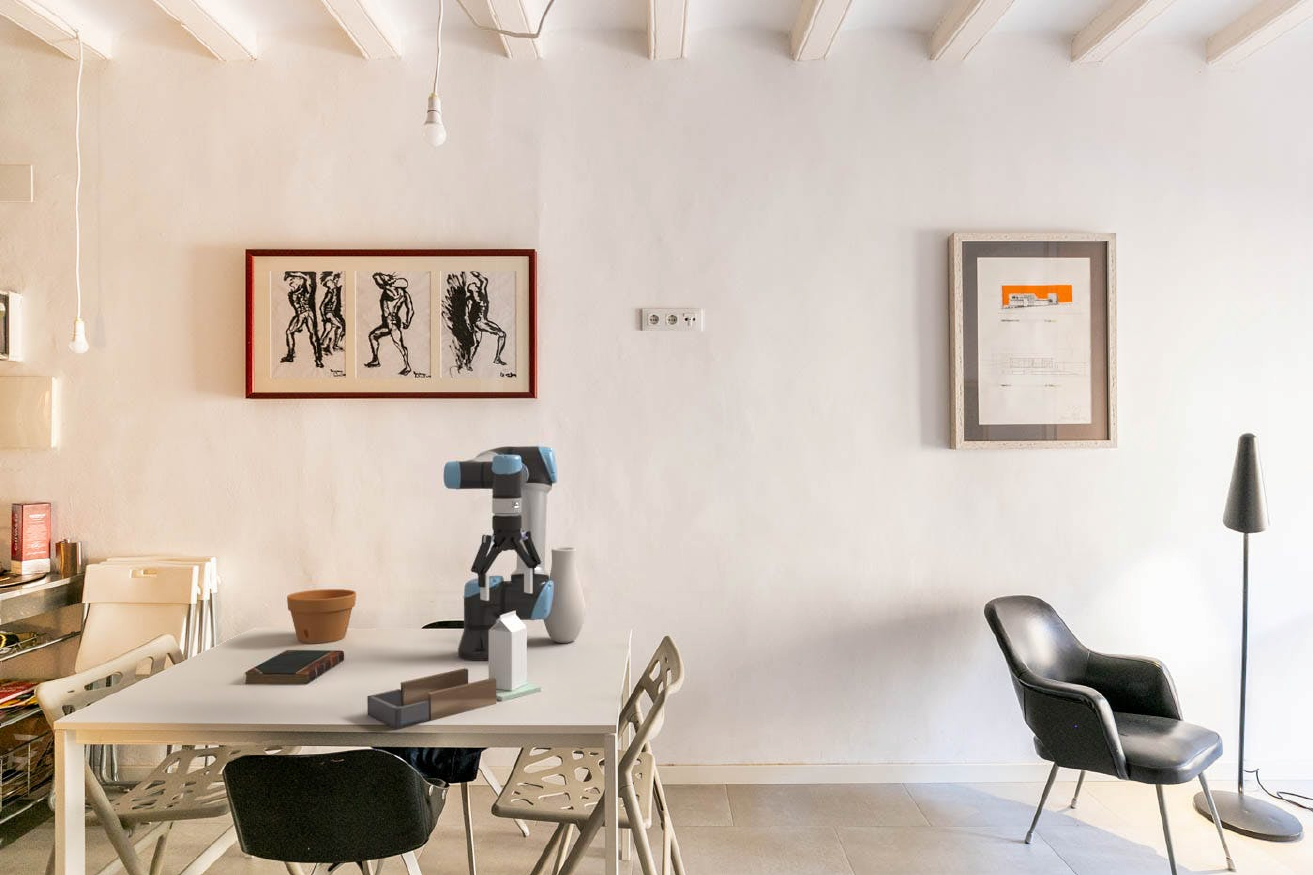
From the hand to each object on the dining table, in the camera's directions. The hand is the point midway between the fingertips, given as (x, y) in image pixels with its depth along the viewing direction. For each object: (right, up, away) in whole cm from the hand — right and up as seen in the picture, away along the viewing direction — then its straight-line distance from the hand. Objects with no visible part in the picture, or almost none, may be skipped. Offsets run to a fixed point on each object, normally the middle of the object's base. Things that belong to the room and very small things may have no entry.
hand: (507, 596), depth 216 cm
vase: (+9, -25, +54) cm, 60 cm away
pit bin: (-21, -24, -22) cm, 39 cm away
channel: (-12, -24, -13) cm, 30 cm away
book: (-62, -25, +18) cm, 70 cm away
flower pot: (-71, -25, +58) cm, 95 cm away
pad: (0, -24, -1) cm, 24 cm away
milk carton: (0, -24, 0) cm, 24 cm away
